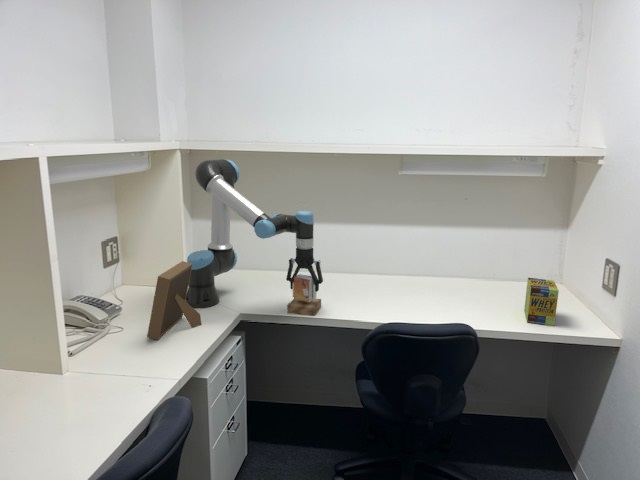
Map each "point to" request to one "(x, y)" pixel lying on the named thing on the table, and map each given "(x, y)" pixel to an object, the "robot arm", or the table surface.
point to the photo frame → (172, 301)
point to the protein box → (541, 301)
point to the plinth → (304, 307)
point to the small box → (303, 287)
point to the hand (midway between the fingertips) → (304, 297)
